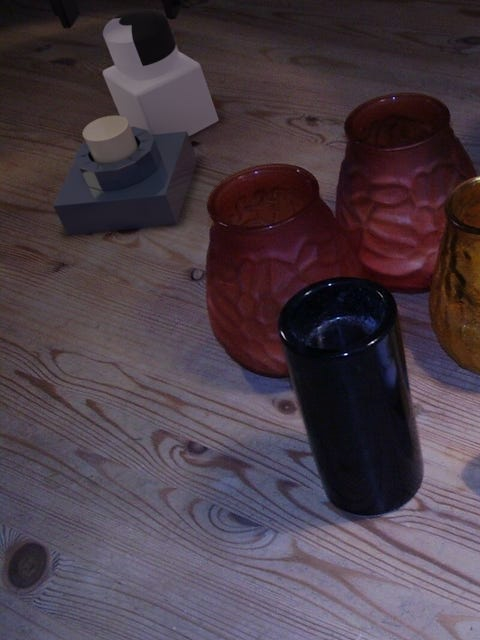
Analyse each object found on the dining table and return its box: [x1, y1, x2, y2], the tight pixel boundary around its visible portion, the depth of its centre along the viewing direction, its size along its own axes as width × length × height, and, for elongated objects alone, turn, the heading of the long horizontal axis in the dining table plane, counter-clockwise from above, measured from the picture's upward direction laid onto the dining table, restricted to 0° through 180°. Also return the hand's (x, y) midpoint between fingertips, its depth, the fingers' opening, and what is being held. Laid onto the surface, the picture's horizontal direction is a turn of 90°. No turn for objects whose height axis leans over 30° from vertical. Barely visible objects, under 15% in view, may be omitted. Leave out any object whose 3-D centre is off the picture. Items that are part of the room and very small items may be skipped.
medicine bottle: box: [102, 8, 220, 137], centre depth 97 cm, size 7×7×12 cm
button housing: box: [52, 127, 198, 236], centre depth 91 cm, size 10×10×6 cm
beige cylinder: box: [82, 114, 138, 164], centre depth 88 cm, size 4×4×3 cm
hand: (123, 17), depth 92 cm, fingers open, 9 cm apart
